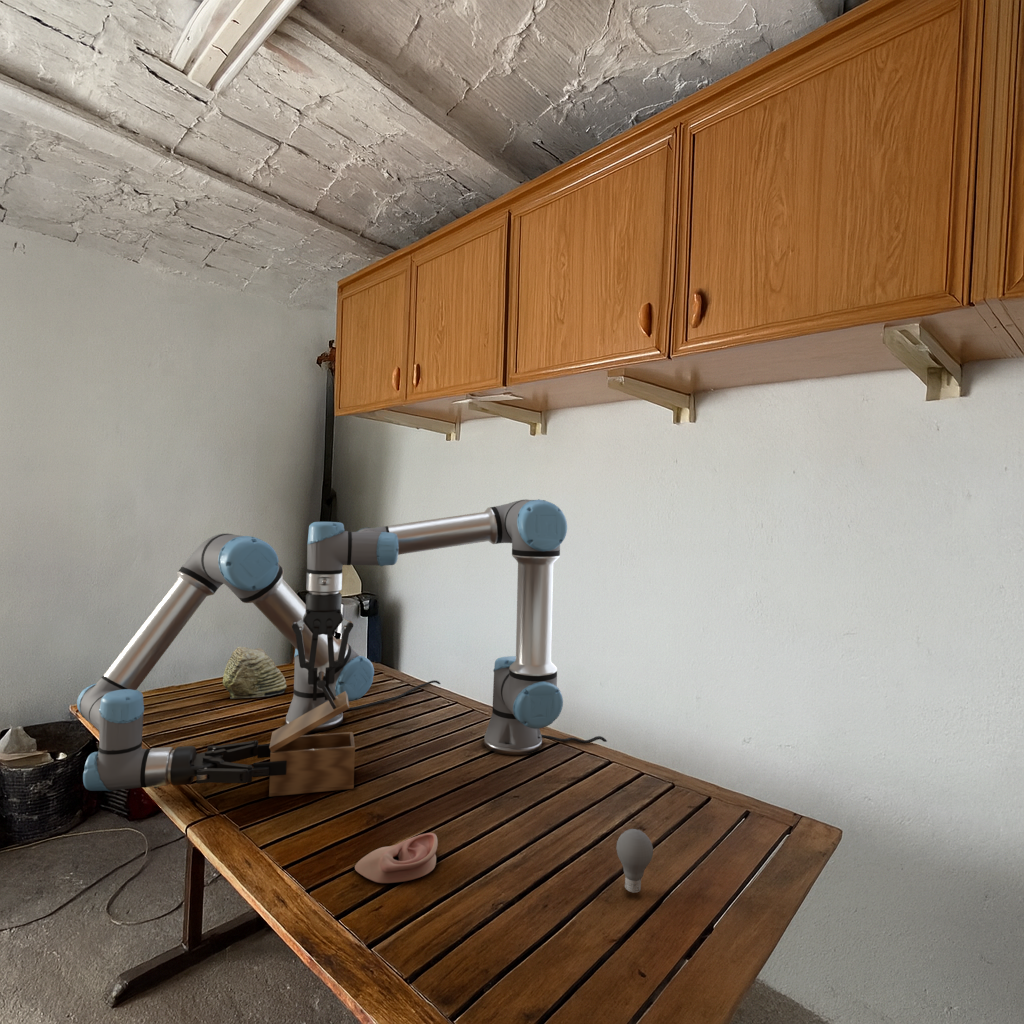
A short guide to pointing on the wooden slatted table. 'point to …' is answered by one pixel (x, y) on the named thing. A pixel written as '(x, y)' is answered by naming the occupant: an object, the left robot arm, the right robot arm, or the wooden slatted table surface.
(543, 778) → the wooden slatted table surface
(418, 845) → the anatomical model
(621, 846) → the light bulb
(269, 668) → the fossil
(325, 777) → the chest
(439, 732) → the wooden slatted table surface
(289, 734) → the lid
